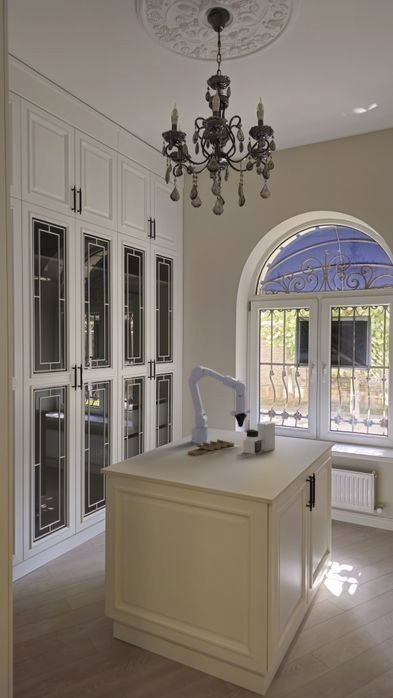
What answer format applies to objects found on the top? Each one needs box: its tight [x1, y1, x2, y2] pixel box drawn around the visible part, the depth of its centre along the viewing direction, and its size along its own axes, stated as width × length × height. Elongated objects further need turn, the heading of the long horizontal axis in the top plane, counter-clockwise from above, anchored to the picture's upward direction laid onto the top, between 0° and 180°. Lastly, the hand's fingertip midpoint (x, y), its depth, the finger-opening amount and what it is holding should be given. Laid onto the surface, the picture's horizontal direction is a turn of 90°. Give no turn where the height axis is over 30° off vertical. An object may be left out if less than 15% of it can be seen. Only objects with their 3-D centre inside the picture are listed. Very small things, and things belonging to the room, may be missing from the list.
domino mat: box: [204, 443, 241, 455], centre depth 250 cm, size 8×26×1 cm, turn 131°
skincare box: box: [256, 420, 276, 452], centre depth 248 cm, size 8×6×15 cm
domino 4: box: [216, 439, 235, 446], centre depth 254 cm, size 5×2×9 cm
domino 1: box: [195, 443, 214, 451], centre depth 243 cm, size 5×2×9 cm
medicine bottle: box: [242, 428, 262, 456], centre depth 243 cm, size 7×7×12 cm
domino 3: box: [209, 440, 228, 448], centre depth 250 cm, size 5×2×9 cm
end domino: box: [187, 447, 207, 457], centre depth 240 cm, size 5×2×9 cm
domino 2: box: [202, 442, 222, 451], centre depth 247 cm, size 5×2×9 cm
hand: (240, 426), depth 261 cm, fingers closed
